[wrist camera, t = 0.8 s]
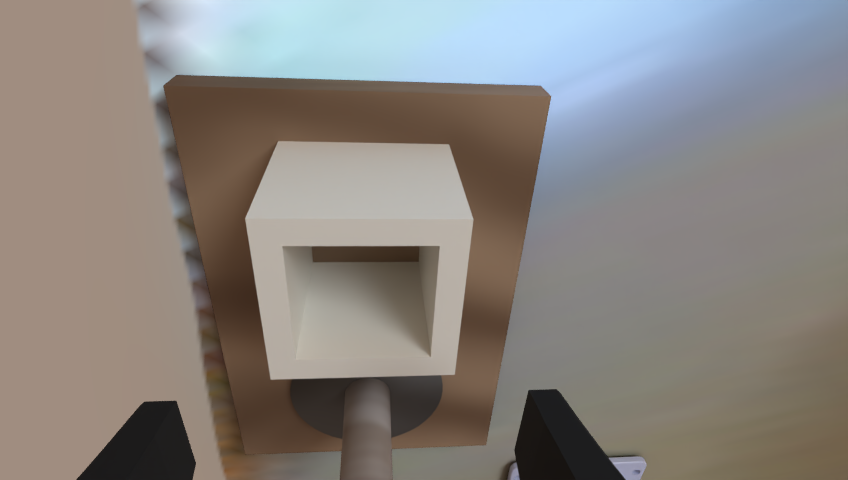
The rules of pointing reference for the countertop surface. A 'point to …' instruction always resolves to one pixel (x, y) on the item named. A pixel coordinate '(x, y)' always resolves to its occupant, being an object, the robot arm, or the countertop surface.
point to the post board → (359, 249)
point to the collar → (360, 281)
